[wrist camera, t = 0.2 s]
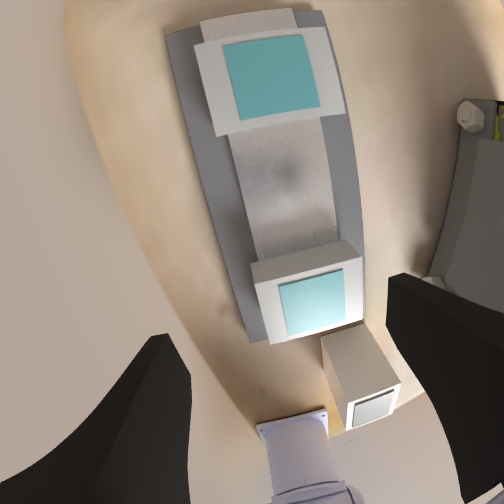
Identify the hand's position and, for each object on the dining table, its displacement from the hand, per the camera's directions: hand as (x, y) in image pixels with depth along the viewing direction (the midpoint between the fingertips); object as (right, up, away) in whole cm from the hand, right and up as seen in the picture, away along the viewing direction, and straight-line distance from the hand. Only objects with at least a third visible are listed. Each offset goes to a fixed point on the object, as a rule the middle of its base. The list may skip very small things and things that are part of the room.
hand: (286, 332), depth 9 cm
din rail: (+1, +7, +8) cm, 10 cm away
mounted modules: (+1, +6, +7) cm, 9 cm away
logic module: (+7, -6, +14) cm, 17 cm away
